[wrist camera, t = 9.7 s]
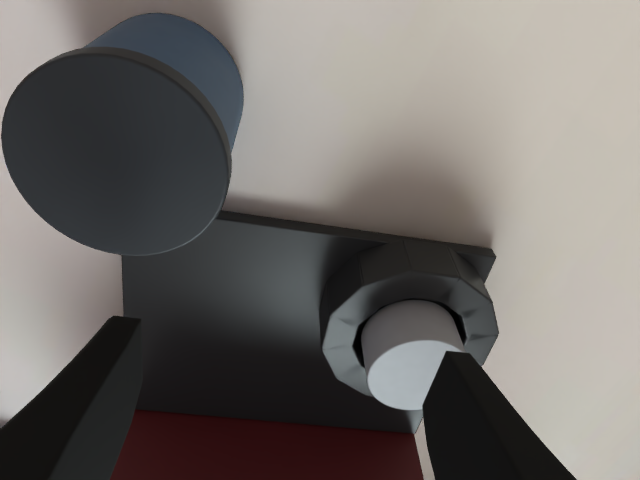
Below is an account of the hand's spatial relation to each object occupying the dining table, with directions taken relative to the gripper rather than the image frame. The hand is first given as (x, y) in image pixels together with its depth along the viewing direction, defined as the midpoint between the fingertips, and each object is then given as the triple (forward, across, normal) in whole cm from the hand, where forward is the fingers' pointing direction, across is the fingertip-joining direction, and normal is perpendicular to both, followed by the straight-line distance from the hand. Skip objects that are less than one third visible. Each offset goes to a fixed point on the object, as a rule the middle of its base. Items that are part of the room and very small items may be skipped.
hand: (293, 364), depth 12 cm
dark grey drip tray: (+8, -1, +6) cm, 10 cm away
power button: (+6, -5, +4) cm, 8 cm away
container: (+8, +5, -3) cm, 10 cm away
